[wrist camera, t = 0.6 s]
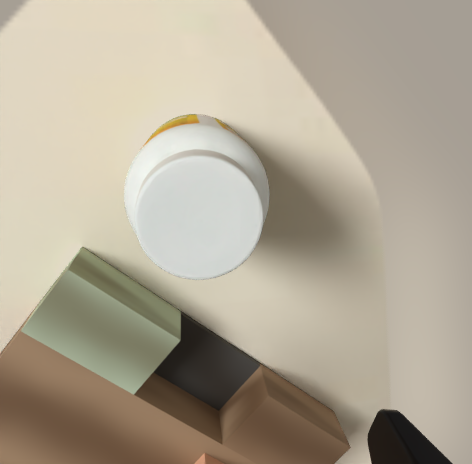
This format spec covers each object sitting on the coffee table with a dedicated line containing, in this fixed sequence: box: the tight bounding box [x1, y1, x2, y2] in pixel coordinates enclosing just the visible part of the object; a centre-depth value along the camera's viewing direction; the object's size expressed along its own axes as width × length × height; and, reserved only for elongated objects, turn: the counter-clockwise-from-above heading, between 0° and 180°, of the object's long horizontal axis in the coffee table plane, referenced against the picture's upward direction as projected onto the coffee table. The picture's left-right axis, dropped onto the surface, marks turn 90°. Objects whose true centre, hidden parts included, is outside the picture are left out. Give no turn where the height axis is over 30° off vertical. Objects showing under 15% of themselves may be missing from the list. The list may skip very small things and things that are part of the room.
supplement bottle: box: [124, 114, 270, 280], centre depth 18 cm, size 5×5×10 cm
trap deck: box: [0, 247, 351, 464], centre depth 26 cm, size 16×19×3 cm
